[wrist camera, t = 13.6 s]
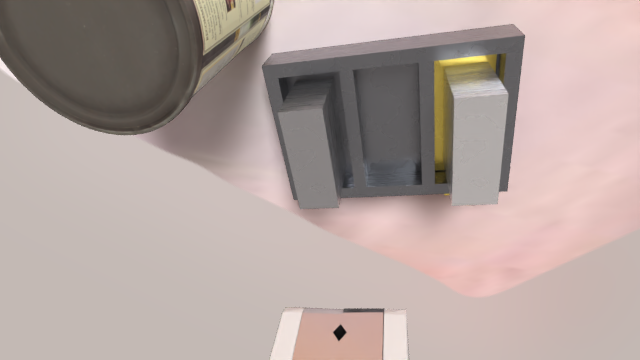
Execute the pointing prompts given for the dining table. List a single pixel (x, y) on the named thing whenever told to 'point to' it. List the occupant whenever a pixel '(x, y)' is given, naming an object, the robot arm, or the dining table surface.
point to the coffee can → (124, 54)
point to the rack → (379, 112)
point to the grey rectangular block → (473, 132)
